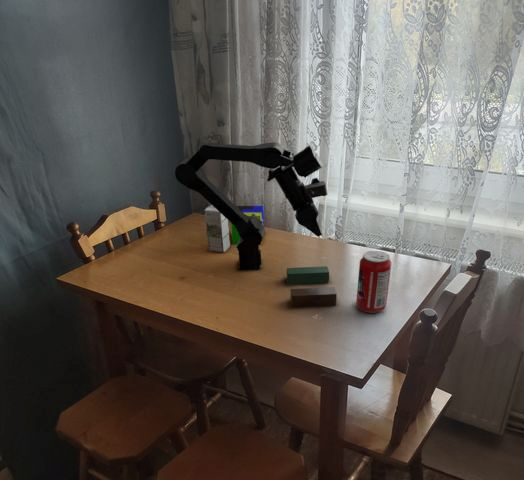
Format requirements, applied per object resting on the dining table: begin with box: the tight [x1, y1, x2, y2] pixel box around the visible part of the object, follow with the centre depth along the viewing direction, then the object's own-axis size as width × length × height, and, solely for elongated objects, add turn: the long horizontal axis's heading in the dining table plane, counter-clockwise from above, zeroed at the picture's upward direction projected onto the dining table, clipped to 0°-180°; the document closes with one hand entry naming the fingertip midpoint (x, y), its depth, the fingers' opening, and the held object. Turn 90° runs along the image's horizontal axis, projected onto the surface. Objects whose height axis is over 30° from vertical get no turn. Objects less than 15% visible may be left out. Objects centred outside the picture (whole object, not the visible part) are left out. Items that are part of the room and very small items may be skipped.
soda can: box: [355, 250, 392, 314], centre depth 127 cm, size 8×8×15 cm
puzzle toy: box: [230, 205, 265, 245], centre depth 170 cm, size 10×10×10 cm
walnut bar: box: [289, 286, 337, 308], centre depth 133 cm, size 12×4×4 cm, turn 92°
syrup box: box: [204, 204, 231, 253], centre depth 162 cm, size 6×6×14 cm
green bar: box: [286, 265, 330, 286], centre depth 144 cm, size 12×4×4 cm, turn 92°
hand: (318, 231), depth 145 cm, fingers open, 9 cm apart
